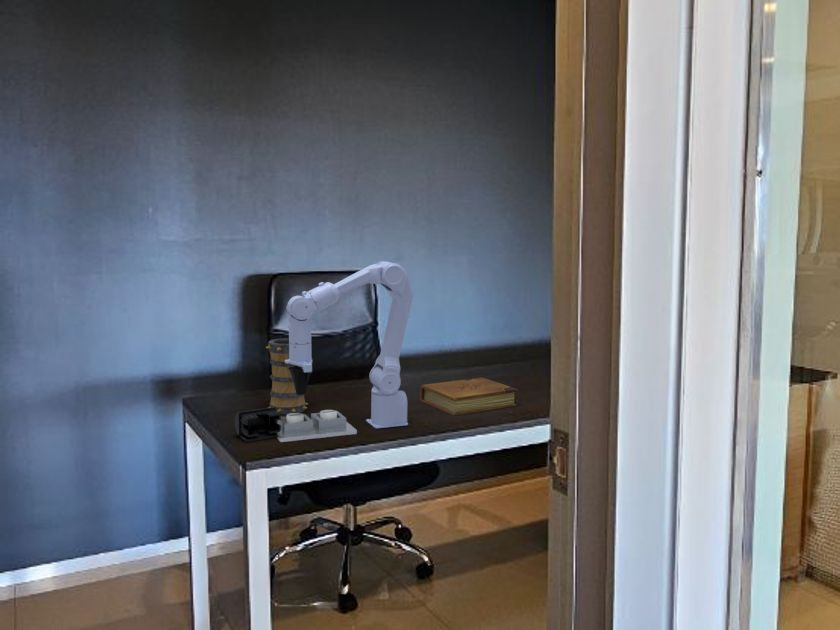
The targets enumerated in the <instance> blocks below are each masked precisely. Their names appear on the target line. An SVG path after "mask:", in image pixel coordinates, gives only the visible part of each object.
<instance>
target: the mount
mask: <svg viewBox="0 0 840 630" xmlns="http://www.w3.org/2000/svg"><path fill="white" fill-rule="evenodd" d="M336 411H337V418H332V419H320V412H315V413H310V417H309V416H308V415H307V414H305V413H302V414H303V415H304V421H302V422H292V423H287V420H286V415H283V416H282V415H281V420H278V419H277V421H276V422H277V423H278V424H280V425H281V431H280V432H277V433H275V434H276V435H277V437H276V438H277V440H278V441H279V442H280V443H284V442H285V443H286V442H296V441H303V440H312V439H322V438H332V437H340V436H351V435H357V434H358V431H357V429H356V428H355V427H354V426H353V425H352V424H350V423H349V422H348V421H347V417H345V416H344V415H343V414H342V413H341V412H340V411H339V410H336Z"/></svg>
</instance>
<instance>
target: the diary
mask: <svg viewBox="0 0 840 630" xmlns="http://www.w3.org/2000/svg"><path fill="white" fill-rule="evenodd" d="M419 389H420V391H419V401H420V402H422V403H424V404H426V405H429V406H431V407H434V408H436V409H439V410H440V411H444V412H446V413H448V414H449V415H453V416H459V415H460V416H461V415H465V414H472V413H478V412H479V413H480V412H484V411H491V410H498V409H505V408H511V407H517V406H518V404H517V403H515V393H518V392H519V391H518V388H516V387H513V386H509V385H506V384H503V383H500V382H498V381H494V380H491V379H488V378H485V377H475V378H467V379H460V380H451V381H442V382H435V383H429V384H428V383H426V384H421V385H420V388H419Z"/></svg>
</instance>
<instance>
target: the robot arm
mask: <svg viewBox="0 0 840 630" xmlns="http://www.w3.org/2000/svg"><path fill="white" fill-rule="evenodd" d="M367 284H373V285H381V286H382V287H383V288H384V289H386V291H387V293H389V296H391V298H392V299H391V304H390V308H389V313H388V318H387V323H386V327H385V332H384V335H383V340H382V345H381V349H380V354H379V355H378V357H377V358H376V360H375V363H374V366H373V367H372V368H371V370H370V372H369V375H368V377H369V381H370V383H371V384H372V385H373V386H372V388H371V394H370V395H371V396H370V397H371V399H370V400H371V401H370V403H371V405H370V410H371V411H370V415H371V416H370V418H367V419H365V422H367V423H368V424H369V425H370V426H372V427H373V428H374V429H385V428H394V427H395V428H396V427H403V426H408V425H409V423H408V397H407V394H406V392H405V391H404V390H399V389H400V387H401V383H402V382H401V380H402V379H401V376H400V374H401V373H400V372H401V365H400V364H401V363H400V356H401V351H402V346H403V343H404V337H405V334H406V333H405V332H406V329H407V323H408V321H409V320H408V319H409V315H410V311H411V306H412V301H413V297H414V296H413V295H414V294H413V291H412V288H411V285H410V281H409V273H408V272H407V271H406V270H405V269H404V268H403V266H402V265H401V264H399V263H396V262H391V261H387V260H381V261H379V262H377V263H373V264H370V265H368V266H366V267H364V268H362V269H361V270H358V271H356V272H355V273H353V274H351V275H349V276H346V277H345V278H344V279H343V278H342V280H340V281H338V282H336V283H332V282H329V281H327V282H323V281H321V282H319V283H318V286H315V287H314V288H311V289H310V290H308V291H306V290H304V291H302V292H301V295H295V296H292V297H291V298H290V299H289V301H288V302H287V306H286V307H285V308H286V311H287V313H288V314H289V316H288V317H289V318H288V322H289V324H288V338H289V359H288V360H285V363H286V364H289V363H290V364H293V365H295V366H294V367H288V369H289V371H290V373H291V375H292V378H293V382H294V386H295V391H296V394H297V395H303V394H305V395H306V392H307V388H308V385H309V381H310V377H311V375H312V373H313V371H314V368H313V357H312V324H311V323H312V322H311V318H312V317H313V314H314V313H317V312H319V311H321V310H323V309H326V308H327V307H330V306H332V305H333V304H336V303H337V302H338V301H339V298H340V296H341V295H344V294H345V293H346V294H347V293H348V292H351V291H352V290H353V291H354V290H355V289H357V288H360V287H362V286H364V285H367Z"/></svg>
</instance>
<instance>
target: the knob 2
mask: <svg viewBox="0 0 840 630" xmlns="http://www.w3.org/2000/svg"><path fill="white" fill-rule="evenodd" d="M337 411H338V410H334V409H324V410H320V411H319V413H320V419H332V418H337Z"/></svg>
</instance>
